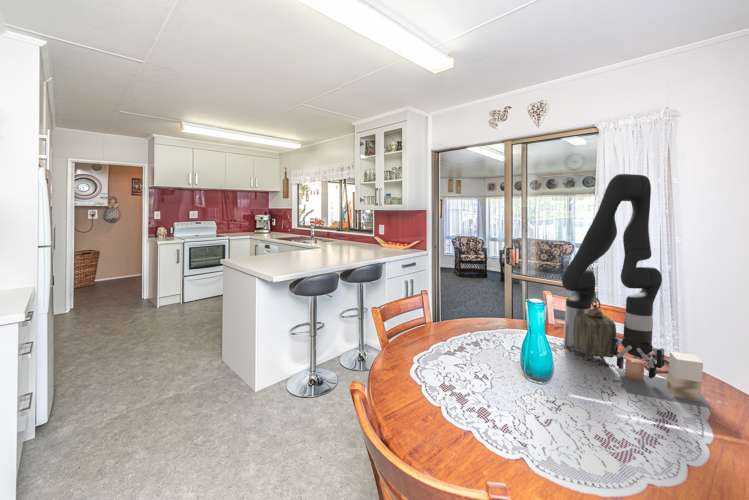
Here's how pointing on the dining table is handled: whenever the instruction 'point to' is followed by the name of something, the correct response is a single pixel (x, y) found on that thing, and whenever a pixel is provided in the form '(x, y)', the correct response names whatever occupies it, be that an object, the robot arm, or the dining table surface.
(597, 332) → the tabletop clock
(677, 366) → the tower top
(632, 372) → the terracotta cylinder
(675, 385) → the tower base
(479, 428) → the dining table surface
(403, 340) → the dining table surface
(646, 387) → the slate mat
